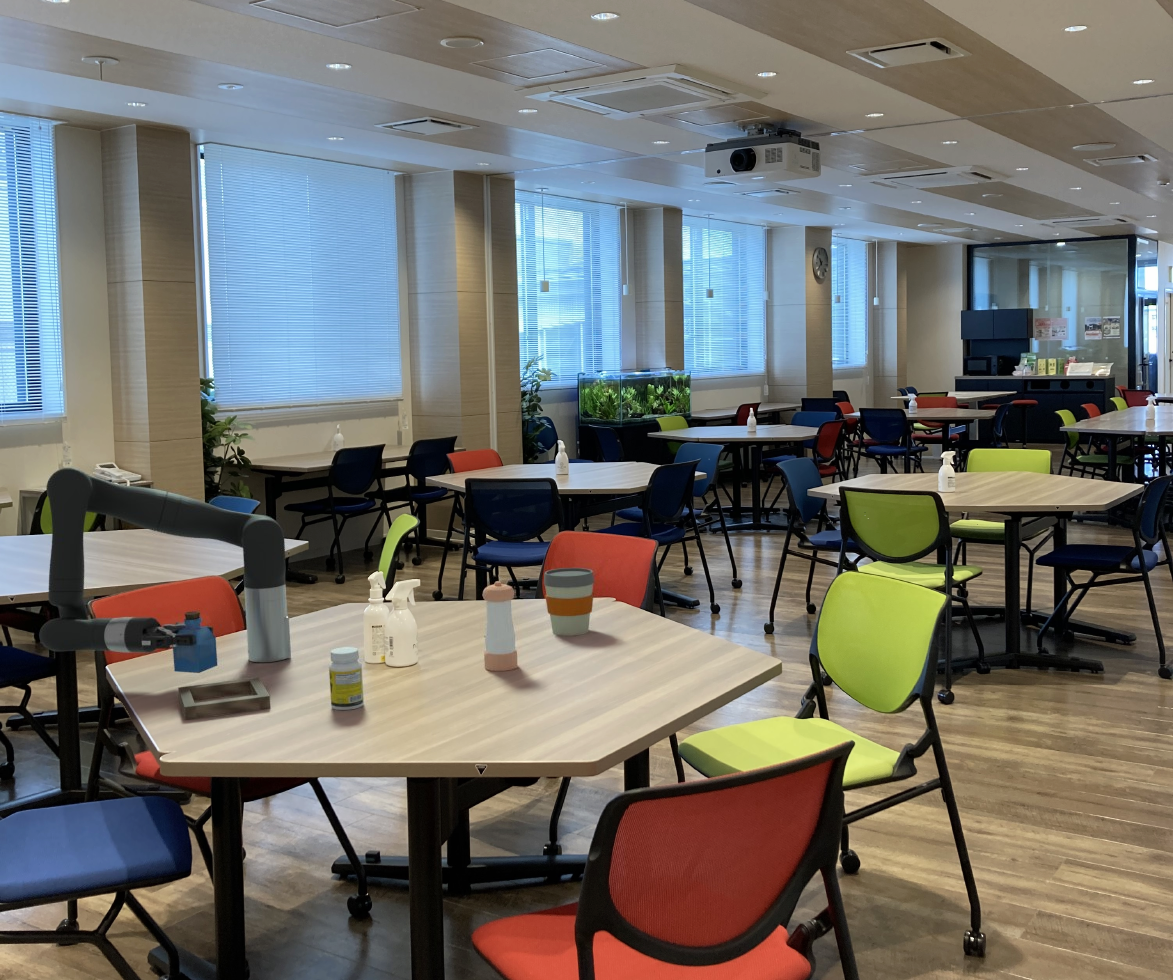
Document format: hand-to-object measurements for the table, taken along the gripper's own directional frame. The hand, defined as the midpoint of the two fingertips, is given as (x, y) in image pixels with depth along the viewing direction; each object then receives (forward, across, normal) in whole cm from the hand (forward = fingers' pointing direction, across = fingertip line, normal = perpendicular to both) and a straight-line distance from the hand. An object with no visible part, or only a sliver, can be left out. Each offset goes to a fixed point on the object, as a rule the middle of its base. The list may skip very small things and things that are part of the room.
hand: (203, 635), depth 248 cm
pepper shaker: (+58, +23, +12) cm, 64 cm away
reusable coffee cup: (+66, +59, +12) cm, 89 cm away
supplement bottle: (+36, -10, +12) cm, 39 cm away
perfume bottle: (-2, 0, +7) cm, 8 cm away
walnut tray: (+10, -11, +11) cm, 19 cm away
